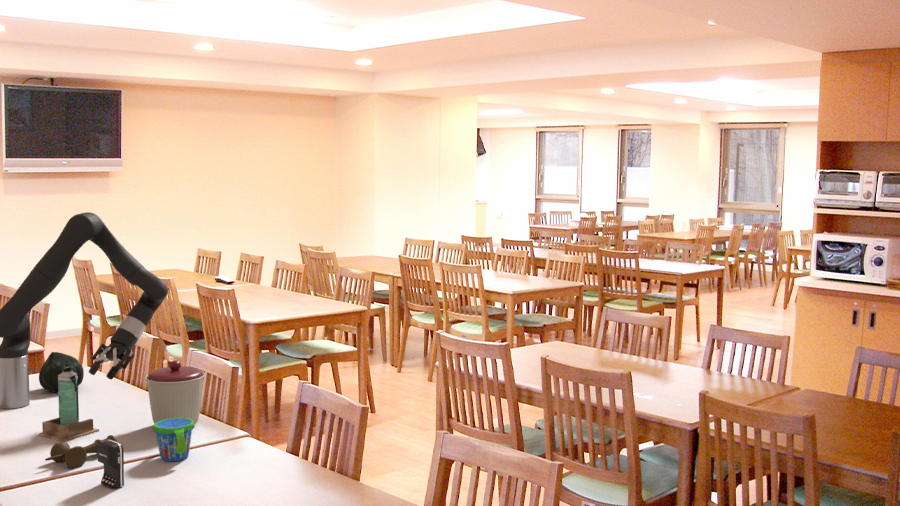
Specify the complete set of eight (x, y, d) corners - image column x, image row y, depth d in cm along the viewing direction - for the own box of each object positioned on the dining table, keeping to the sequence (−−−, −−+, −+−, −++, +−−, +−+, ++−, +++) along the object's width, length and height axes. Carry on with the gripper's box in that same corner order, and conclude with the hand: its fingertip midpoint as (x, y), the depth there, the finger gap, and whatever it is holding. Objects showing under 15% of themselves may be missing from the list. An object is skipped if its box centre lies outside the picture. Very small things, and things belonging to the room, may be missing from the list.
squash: (97, 374, 303) (76, 341, 306) (63, 384, 290) (41, 350, 292) (78, 395, 309) (57, 363, 311) (44, 406, 295) (22, 373, 298)
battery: (96, 484, 211) (94, 441, 210) (109, 480, 214) (108, 437, 213) (111, 491, 207) (110, 447, 206) (125, 486, 210) (124, 443, 209)
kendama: (123, 456, 234) (54, 474, 218) (105, 450, 240) (36, 467, 224) (123, 435, 233) (53, 452, 218) (104, 430, 239) (35, 445, 223)
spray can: (82, 428, 254) (80, 365, 252) (73, 434, 249) (71, 369, 247) (66, 427, 255) (63, 364, 253) (55, 433, 250) (53, 368, 248)
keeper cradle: (38, 435, 249) (38, 422, 249) (73, 425, 260) (73, 412, 260) (64, 441, 244) (64, 428, 243) (99, 431, 254) (98, 418, 254)
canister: (159, 439, 247) (158, 370, 245) (136, 424, 261) (135, 359, 259) (215, 427, 259) (215, 361, 257) (191, 414, 273) (190, 352, 271)
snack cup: (151, 451, 236) (150, 417, 235) (189, 447, 241) (189, 413, 240) (158, 469, 222) (157, 433, 221) (198, 464, 227) (197, 428, 226)
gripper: (106, 324, 270) (77, 366, 262) (136, 330, 263) (107, 373, 255) (120, 336, 275) (92, 378, 267) (150, 342, 268) (122, 385, 260)
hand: (99, 376), depth 261 cm, fingers open, 8 cm apart
